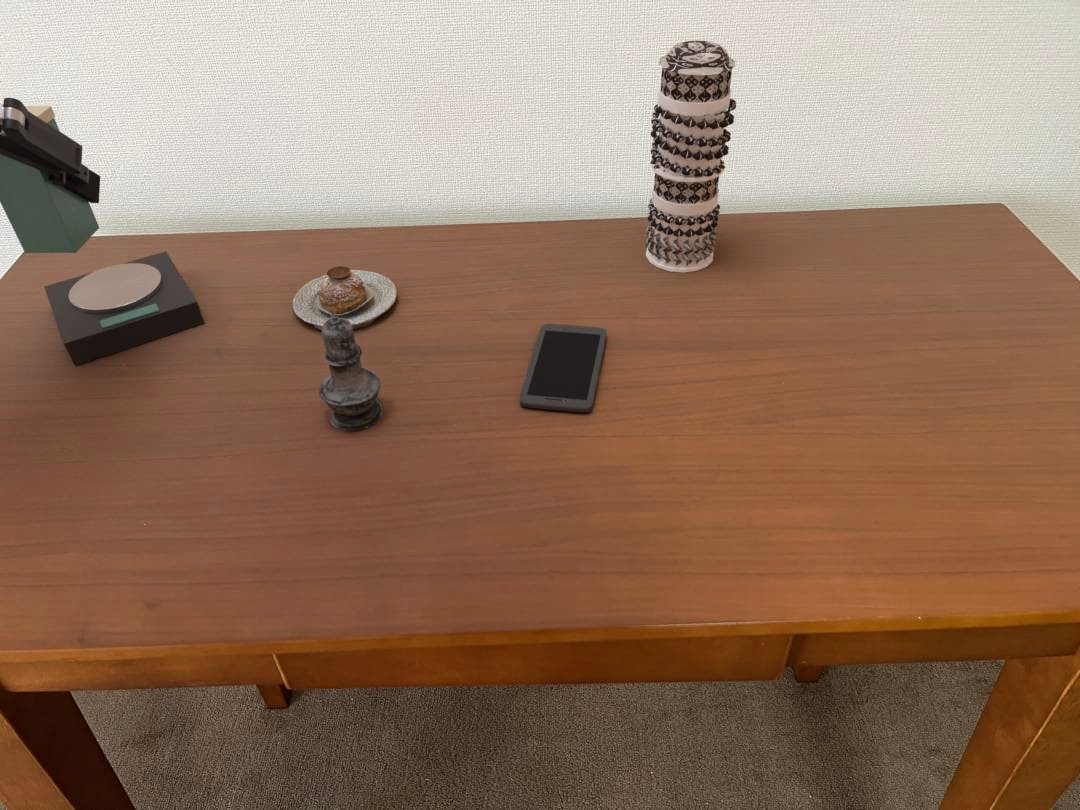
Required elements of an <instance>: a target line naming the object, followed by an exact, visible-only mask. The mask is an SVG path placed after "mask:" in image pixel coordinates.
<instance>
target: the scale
mask: <svg viewBox="0 0 1080 810" xmlns="http://www.w3.org/2000/svg"><path fill="white" fill-rule="evenodd" d="M128 263H139V264H146V265H150V266H153V267H154V268H156V269H157V270H158V271H159V272H160V274H161V277H162V285H161V287H160V289H159V290H158V291H157V293H156V294H154V295H153V296H152V297H151V298H149V299H148V300H146V301H144V302H143V303H141V304H139V305H136V306H134V307H131V308H128V309H125V310H122V311H117V312H112V313H104V314H92V313H85V312H81V311H79V310H77V309H75V308H74V307H73V306H72V304H71V303H70V300H69V292H70V290H71V288H72V287H73V286H74V284H75V283H77V282H78V281H79V280H80V279H82V278H83V277H85V276H87V275H89V274H90V273H93V272H94V271H92V272H89V273H85V274H81V275H79V276H74V277H72V278H68V279H65V280H61V281H58V282H55V283H51V284H48V285H44V287H43V288H44V290H45V294H46V296H47V299H48V302H49V304H50V305H49V306H50V307H51V310H52V314H53V316H54V319H55V322H56V325H57V327H58V330H59V333H60V336H61V340H62V342H63V345H64V346H65V348H66V351H67V352H68V355H69V356H70V359H71V360H72V363H73V364H74V366H75V367H76V366H79V365H82V364H85V363H88V362H91V361H95V360H98V359H100V358H103V357H106V356H109V355H112V354H115V353H118V352H121V351H124V350H127V349H131V348H133V347H137V346H139V345H143V344H145V343H149V342H151V341H154V340H157V339H161V338H163V337H167V336H170V335H172V334H176V333H179V332H182V331H186V330H189V329H191V328H195V327H197V326H200V325H203V324H205V319H204V317H203V315H202V312H201V309H200V306H199V302H198V300H197V299H196V298H195V296H194V294H193V293H192V291H191V289H190V287H189V286H188V284H187V283H186V281H185V280H184V278H183V276H182V274H181V273H180V271H179V270H178V268H177V266H176V265H175V263H174V261H173V260H172V258H171V257H170V255H169V254H168V252H167V250H166V251H161V252H157V253H154V254H151V255H148V256H145V257H140V258H138V259H134V260H131V261H130V260H129V261H126V262H123V263H122V264H128Z"/></svg>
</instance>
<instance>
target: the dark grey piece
mask: <svg viewBox="0 0 1080 810" xmlns="http://www.w3.org/2000/svg"><path fill="white" fill-rule="evenodd" d="M330 318H331V319H329V320H327V321H326V322H325V323H324V324H323V326H322V330H321V336H322V340H323V344H324V349H325V351H324V353H323V356H322V357H323V361H324V362H325V364H327V365H328V368H329V372H330V374H328V376H326V377H325V378H324V379H323V380H322V381H321V383H320V385H319V388H318V393H319V396H320V398H321V400H323V402H325V404H326V405H327V406H328V408H330V411H329V415H328V419H329V423H330V424H331V425H332V426H333V427H334V428H335V429H336V430H339V431H341V432H349V433H350V432H351V433H353V432H360V431H364V430H367V429H369V428H371V427H373V426H374V425H376V424H377V423H378V422H379V421H380V420H381V418H382V417H383V413H384V409H383V404H382V403H381V402H380V401H379V400H378V396H379V393H380V392H379V391H380V389H381V385H382V383H381V378H380V376H379V375H378V374H377V373H376V372H375V371H373V369H369V368H366V367H363V366H362V362H361V357H362V354H363V351H362V348H361V347H360V346H359V345H358V344H357V341H356V338H355V333H354V329H353V328H352V325H351V323H350V322H349V321H348V320H346V319H345V318H340V317H338V315H337V314H336V313H334V312H333V313H332V314H331V316H330Z"/></svg>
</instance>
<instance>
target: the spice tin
mask: <svg viewBox="0 0 1080 810" xmlns="http://www.w3.org/2000/svg"><path fill="white" fill-rule="evenodd" d="M24 106H25V107H26V109H27V110H28V111H29V112H30V113H32V114H34V115H35V116H37V117H38V118H40V119H41V120H43V121H44V122H46V123H47V124H49V125H51V126H52V127H54V128H55V129H57V130H58V131H60V128H59V126H58V124H57V121H56V119H55V118H56V114H55V112H54V110H53V107H52V106H51V105H34V106H33V105H27V106H26V105H24ZM0 205H1V207H2V209H3V210H4V213H5V215H6V217H7V219H8V221H9V223H10V225H11V227H12V229H13V231H14V234H15V235H16V237H17V239H18V242H19V244H20V246H21V248H22V249H23V252H24V253H25V254H77V252H78V251H79V250H80V249H81V248H82V247H83V246H84V245H85V244H86V243H87V242H88V241H89V239H91V238H92V237H93V235H94V234H95V233H96V232H97V231H98V230H99V229H100V225H99V224H98V220H97V218H96V216H95V213H94V210H93V208H92V206H91V203H90V202H89V201H87V200H85V199H83V198H82V197H80V196H78V195H76V194H74V193H73V192H71V191H69V190H67V189H65V188H64V187H62V186H60V185H55V184H52V181H51V180H49V174H48V173H45V172H43V171H40V170H38V169H35V168H33V167H30V166H28V165H26V164H23V163H21V162H18V161H16V160H13V159H11V158H8V157H6V156H3V155H1V154H0Z"/></svg>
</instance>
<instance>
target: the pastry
mask: <svg viewBox="0 0 1080 810" xmlns="http://www.w3.org/2000/svg"><path fill="white" fill-rule="evenodd" d="M397 292H398V290H397V287H396V285H395V284H394V282H393V281H392V280H391V279H390V278H388V277H387V276H384V275H382V274H379V273H378V272H374V271H370V270H363V269H350V268H349V267H347V266H342V265H341V266H334V267H331V268H330V269H328V270H327V272H326V274H324V275H321V276H320V277H317V278H314V279H312V280H310V281H309V282H307V283H305V284H304V285H303V286H302V287H301V288H299V289H298V291H297V292H296V294H295V296H294V297H293V300H292V310H293V312H294V314H295V315H296V316H297V317H298V318H299V319H301V320H302V321H304V322H306V323H307V324H310V325H313V327H314V329H316V330H319V331H322V326H323V324H324V323H325V322H326V321H327V320H329V319H331V318H330V316H331V314H332V313H333V312H334V313H336V314H337V315H338V317H340V318H345V319H346V320H348V321H349V322H350V323H351V325H352V328H353V330H356V329H359V328H364V327H367V326H369V325H371V324H372V323H373V322H375V320H376V318H378V317H380V316H381V315H383V314H384V313H386V312H387V311H388V310H389V309H390V308H391V307H392V306H393V305H394V303H395V302H396V299H397Z"/></svg>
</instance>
